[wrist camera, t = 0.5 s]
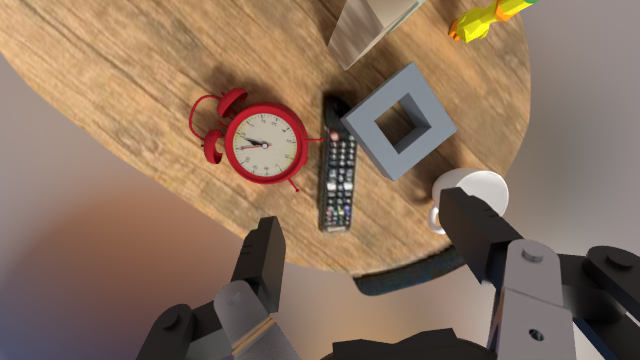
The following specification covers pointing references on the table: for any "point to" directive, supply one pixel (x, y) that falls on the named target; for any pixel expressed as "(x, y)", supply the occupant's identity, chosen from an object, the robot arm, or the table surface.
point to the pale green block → (406, 15)
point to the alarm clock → (258, 140)
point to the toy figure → (485, 18)
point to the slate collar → (420, 109)
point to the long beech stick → (364, 27)
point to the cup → (470, 190)
